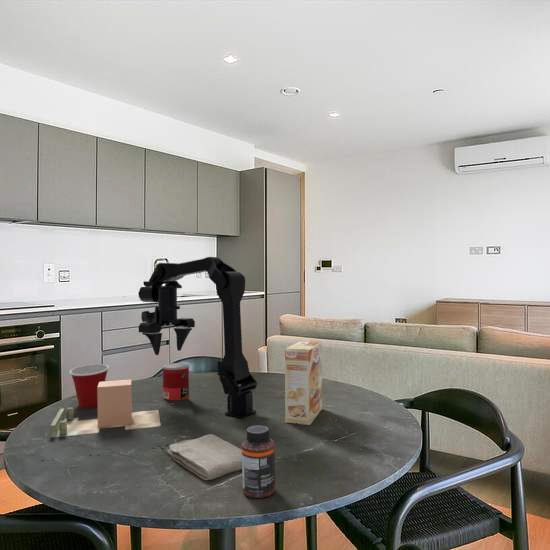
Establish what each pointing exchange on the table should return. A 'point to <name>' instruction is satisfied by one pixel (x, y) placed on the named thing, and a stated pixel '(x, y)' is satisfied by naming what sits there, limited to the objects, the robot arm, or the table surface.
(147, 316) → the robot arm
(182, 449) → the washcloth
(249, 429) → the supplement bottle
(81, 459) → the table surface
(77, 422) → the trap board
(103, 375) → the plastic cup
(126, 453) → the table surface
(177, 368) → the canned food
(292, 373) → the coffeecake box
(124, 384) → the block
